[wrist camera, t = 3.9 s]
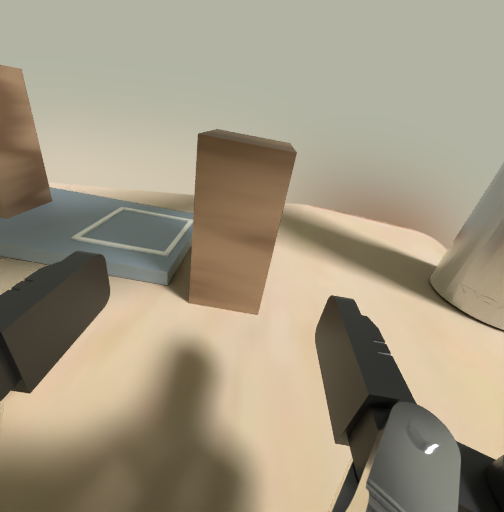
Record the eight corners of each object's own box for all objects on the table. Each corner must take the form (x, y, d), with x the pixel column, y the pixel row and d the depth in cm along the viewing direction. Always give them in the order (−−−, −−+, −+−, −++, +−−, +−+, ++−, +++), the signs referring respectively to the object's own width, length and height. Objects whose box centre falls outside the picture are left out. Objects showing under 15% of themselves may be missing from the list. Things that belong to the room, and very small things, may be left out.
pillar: (204, 266, 22) (216, 129, 17) (260, 276, 22) (290, 143, 17) (188, 302, 18) (197, 133, 12) (257, 314, 18) (296, 152, 13)
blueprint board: (15, 190, 29) (12, 179, 28) (204, 225, 29) (204, 214, 29) (-129, 233, 18) (-140, 216, 18) (167, 285, 19) (167, 270, 18)
